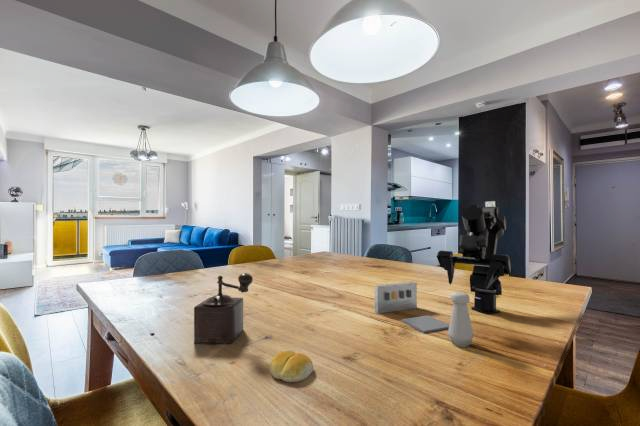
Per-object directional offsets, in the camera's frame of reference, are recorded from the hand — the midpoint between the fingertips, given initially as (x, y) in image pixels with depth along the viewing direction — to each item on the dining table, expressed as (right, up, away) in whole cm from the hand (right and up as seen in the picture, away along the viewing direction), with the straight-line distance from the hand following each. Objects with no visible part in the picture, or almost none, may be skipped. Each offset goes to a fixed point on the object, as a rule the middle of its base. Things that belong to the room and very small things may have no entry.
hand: (467, 285), depth 83 cm
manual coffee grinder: (-66, -14, -1) cm, 67 cm away
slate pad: (-9, -13, +7) cm, 18 cm away
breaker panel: (-14, -13, +21) cm, 29 cm away
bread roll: (-47, -14, -19) cm, 52 cm away
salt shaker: (-5, -13, -6) cm, 16 cm away
